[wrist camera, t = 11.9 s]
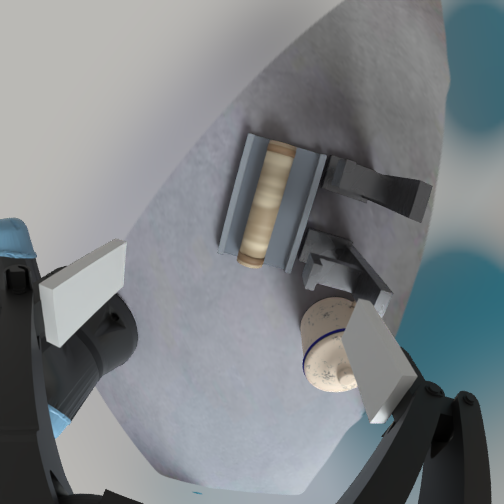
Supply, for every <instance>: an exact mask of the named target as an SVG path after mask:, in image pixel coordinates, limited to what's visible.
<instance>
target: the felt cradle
mask: <svg viewBox="0 0 504 504" xmlns="http://www.w3.org/2000/svg"><path fill="white" fill-rule="evenodd" d="M269 142H270V139H267V138H263V137H259V136H255V135H254V134H250V133H248V136H247V140H246V144H245V147H244V151H243V155H242V158H241V162H240V166H239V169H238V173H237V177H236V181H235V185H234V188H233V192H232V196H231V200H230V204H229V208H228V212H227V216H226V220H225V224H224V228H223V232H222V236H221V240H220V244H219V248H218V252H217V253H218V254H221V255H223V254H224V253H227V254H231V255H234V256H238V252H239V249H240V246H241V243H242V239H243V235H244V232H245V228H246V224H247V221H248V217H249V213H250V210H251V206H252V202H253V199H254V195H255V192H256V188H257V184H258V181H259V177H260V174H261V170H262V167H263V163H264V159H265V156H266V152H267V147H268V143H269ZM326 158H327V156H326V155H323V154H318V153H315V152H312V151H308V150H305V149H302V148H299V147H297V149H296V154H295V158H294V160H293V163H292V166H291V170H290V173H289V177H288V180H287V184H286V187H285V191H284V194H283V197H282V201H281V204H280V208H279V211H278V214H277V218H276V221H275V224H274V228H273V231H272V234H271V238H270V241H269V244H268V248H267V251H266V254H265V259H264V263H263V264H266V265H270V266H273V267H277V268H281V269H284V270H285V272H286V273H289V274H290V273H291V270H292V267H293V264H294V261H295V258H296V255H297V252H298V249H299V246H300V243H301V240H302V237H303V234H304V230H305V227H306V224H307V221H308V218H309V215H310V211H311V208H312V205H313V202H314V198H315V195H316V192H317V188H318V185H319V182H320V178H321V175H322V172H323V168H324V165H325V161H326Z"/></svg>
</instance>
